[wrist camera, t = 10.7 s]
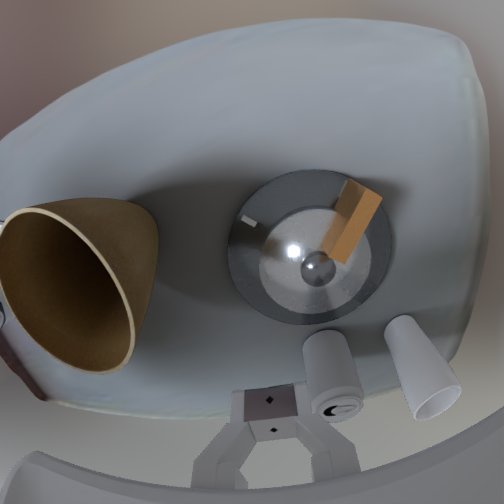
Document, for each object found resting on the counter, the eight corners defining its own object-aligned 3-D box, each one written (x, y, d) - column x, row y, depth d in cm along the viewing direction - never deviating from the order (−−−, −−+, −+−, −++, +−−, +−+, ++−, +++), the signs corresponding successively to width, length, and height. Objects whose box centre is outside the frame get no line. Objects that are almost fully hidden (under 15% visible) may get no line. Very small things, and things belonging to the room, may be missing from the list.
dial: (331, 315, 33) (340, 344, 28) (242, 282, 32) (238, 309, 27) (398, 207, 27) (421, 222, 22) (304, 154, 26) (314, 159, 21)
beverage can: (301, 329, 36) (312, 400, 25) (347, 323, 36) (371, 390, 25) (301, 361, 39) (310, 428, 28) (343, 355, 38) (361, 420, 27)
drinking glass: (425, 314, 35) (471, 385, 21) (401, 347, 38) (435, 420, 24) (394, 303, 34) (442, 383, 21) (369, 339, 37) (401, 422, 23)
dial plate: (208, 292, 34) (206, 299, 33) (264, 141, 27) (264, 142, 25) (341, 333, 36) (343, 340, 35) (412, 211, 29) (418, 214, 27)
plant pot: (207, 196, 29) (154, 262, 15) (169, 301, 35) (125, 397, 20) (94, 153, 27) (-9, 182, 13) (76, 257, 33) (4, 324, 18)
